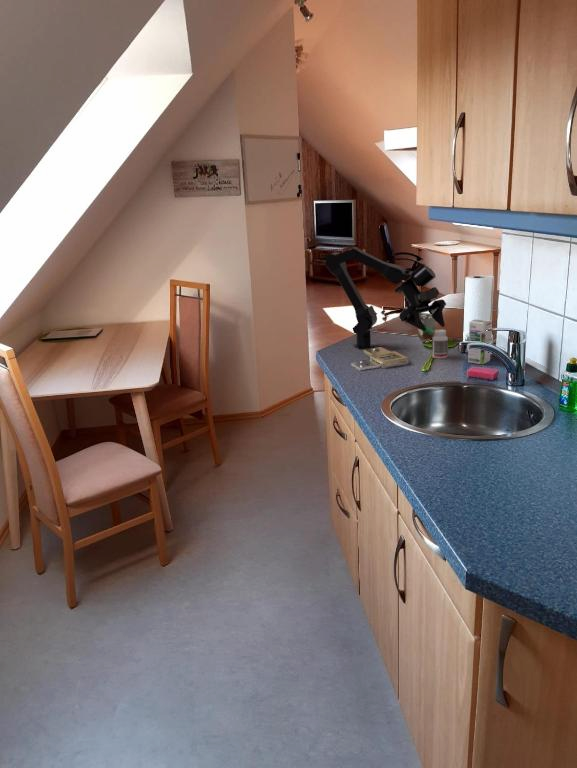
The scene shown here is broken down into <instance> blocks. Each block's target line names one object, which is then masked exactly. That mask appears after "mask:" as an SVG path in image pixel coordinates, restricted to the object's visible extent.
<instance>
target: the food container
mask: <svg viewBox="0 0 577 768" xmlns="http://www.w3.org/2000/svg"><path fill="white" fill-rule="evenodd" d="M431 316H432V314H430V313H429V312H428V313H427V312H423V313H419V317H420V319H421V321H422V323H423V324H424V326H425V328H426V331H425V332H424V331H422V330H420V329H419V328H417V338H418V340H420V342H421V343H422V344H423V345H424V344H426V343H425V342H426V341H429V340H432V339H433V337H434V336H435V323H437V322H436V321H435V320H434V319H433V318H432V317H431Z"/></svg>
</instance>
